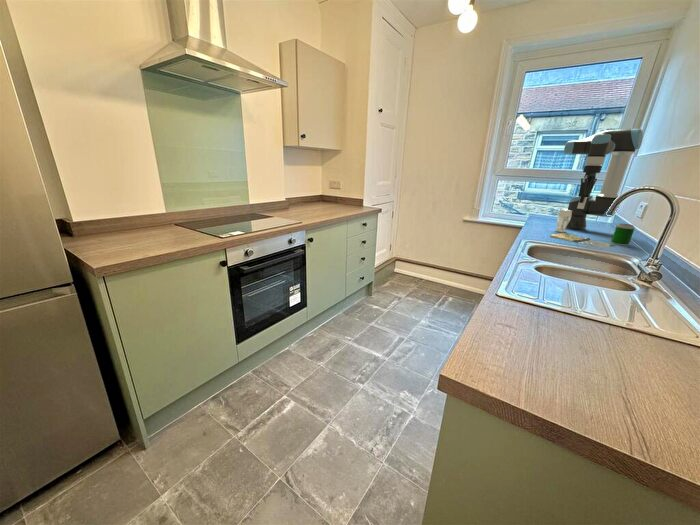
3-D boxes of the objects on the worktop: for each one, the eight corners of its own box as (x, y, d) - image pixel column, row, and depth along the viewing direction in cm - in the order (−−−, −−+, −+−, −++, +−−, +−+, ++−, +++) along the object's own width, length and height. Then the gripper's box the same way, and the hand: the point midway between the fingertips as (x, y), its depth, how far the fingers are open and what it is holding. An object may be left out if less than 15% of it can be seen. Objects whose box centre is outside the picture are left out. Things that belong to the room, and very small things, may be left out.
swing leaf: (563, 234, 177) (564, 231, 176) (589, 241, 166) (591, 238, 165) (549, 236, 169) (550, 233, 169) (576, 244, 158) (577, 240, 157)
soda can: (631, 247, 156) (639, 226, 152) (617, 247, 156) (625, 225, 152) (619, 244, 163) (627, 223, 159) (606, 243, 163) (613, 223, 159)
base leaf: (585, 241, 167) (587, 237, 166) (616, 247, 155) (617, 243, 155) (572, 243, 160) (573, 239, 159) (603, 250, 148) (604, 246, 147)
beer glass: (555, 233, 185) (562, 210, 180) (551, 231, 191) (558, 208, 187) (567, 234, 183) (574, 211, 178) (563, 232, 190) (570, 209, 185)
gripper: (590, 165, 160) (578, 207, 168) (579, 164, 154) (567, 208, 162) (607, 165, 154) (593, 209, 162) (596, 165, 148) (582, 210, 156)
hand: (580, 208), depth 162 cm, fingers closed
